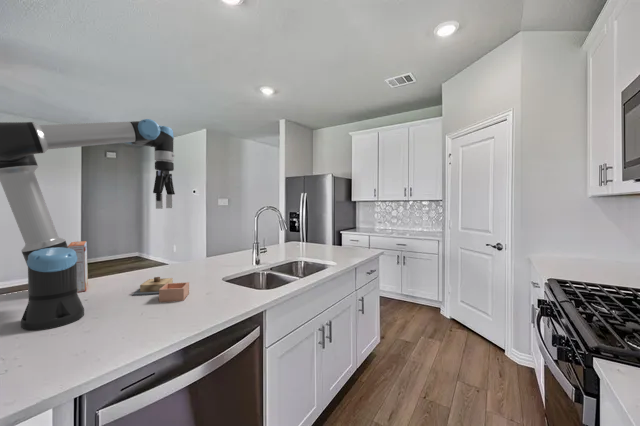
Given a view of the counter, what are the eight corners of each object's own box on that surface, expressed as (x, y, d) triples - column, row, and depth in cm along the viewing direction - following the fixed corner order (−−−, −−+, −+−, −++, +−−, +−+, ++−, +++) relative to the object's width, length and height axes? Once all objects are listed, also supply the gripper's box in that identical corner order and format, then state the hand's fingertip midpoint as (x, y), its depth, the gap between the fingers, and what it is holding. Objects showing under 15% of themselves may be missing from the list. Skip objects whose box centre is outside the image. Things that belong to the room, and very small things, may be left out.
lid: (140, 292, 120) (140, 281, 120) (149, 285, 130) (149, 275, 130) (165, 290, 122) (165, 279, 122) (172, 284, 132) (172, 274, 132)
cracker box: (71, 286, 131) (70, 241, 130) (88, 284, 134) (87, 240, 134) (67, 294, 119) (66, 245, 119) (86, 291, 123) (85, 244, 122)
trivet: (132, 295, 118) (132, 293, 118) (146, 286, 132) (146, 284, 132) (169, 293, 121) (169, 292, 121) (178, 284, 135) (178, 283, 134)
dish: (159, 302, 110) (158, 289, 110) (166, 294, 119) (166, 283, 119) (183, 300, 112) (183, 288, 112) (189, 293, 121) (189, 282, 121)
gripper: (164, 157, 115) (164, 208, 116) (180, 165, 140) (181, 208, 141) (143, 156, 114) (144, 208, 115) (164, 165, 138) (165, 207, 139)
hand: (164, 208), depth 128 cm, fingers open, 13 cm apart
